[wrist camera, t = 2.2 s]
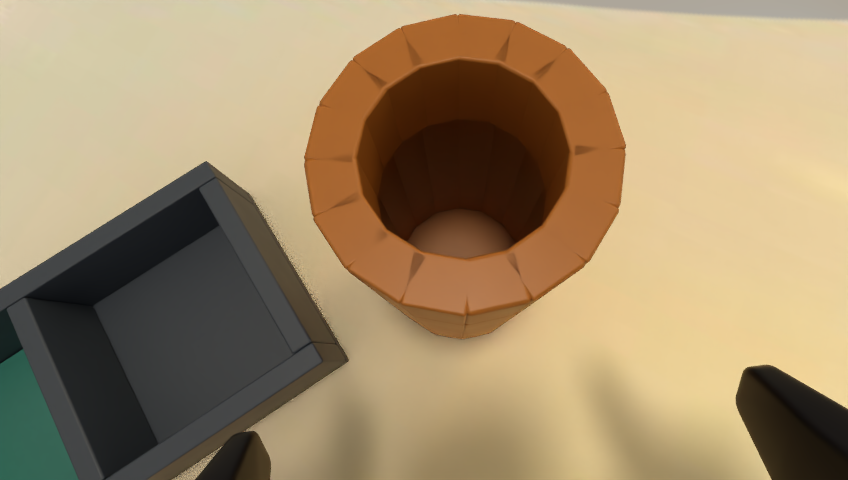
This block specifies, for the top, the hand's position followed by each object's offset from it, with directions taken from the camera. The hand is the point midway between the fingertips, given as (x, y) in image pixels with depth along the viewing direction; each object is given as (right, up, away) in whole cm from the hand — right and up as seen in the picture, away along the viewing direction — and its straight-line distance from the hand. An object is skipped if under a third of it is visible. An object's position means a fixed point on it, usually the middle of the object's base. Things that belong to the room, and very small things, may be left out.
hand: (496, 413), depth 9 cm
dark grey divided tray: (-14, -3, +12) cm, 19 cm away
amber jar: (0, +2, +12) cm, 12 cm away
